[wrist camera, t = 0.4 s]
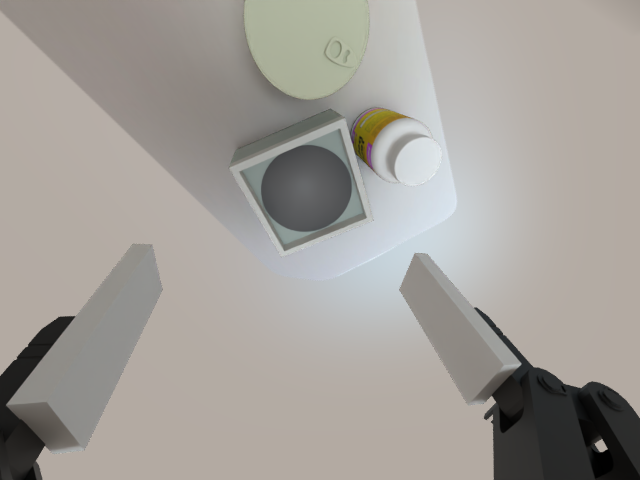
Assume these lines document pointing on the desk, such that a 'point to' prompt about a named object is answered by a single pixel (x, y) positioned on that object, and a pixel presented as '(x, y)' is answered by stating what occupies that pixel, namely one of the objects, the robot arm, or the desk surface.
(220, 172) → the desk surface
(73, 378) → the robot arm
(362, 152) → the supplement bottle
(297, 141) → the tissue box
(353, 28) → the can
